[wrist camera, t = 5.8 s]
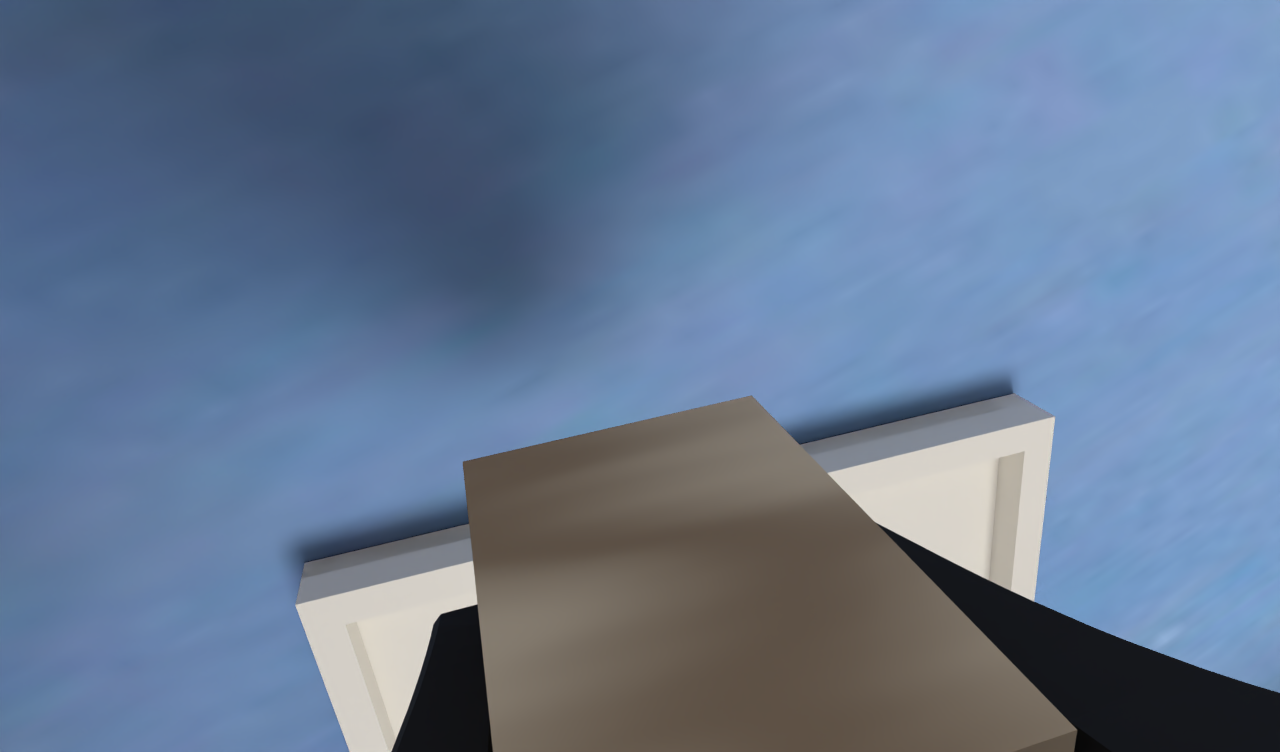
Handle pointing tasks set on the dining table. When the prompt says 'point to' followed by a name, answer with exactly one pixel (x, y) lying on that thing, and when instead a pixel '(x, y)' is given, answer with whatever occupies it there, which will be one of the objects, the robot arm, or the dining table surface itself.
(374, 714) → the white square tray
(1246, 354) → the dining table surface
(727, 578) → the maple block
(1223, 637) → the dining table surface
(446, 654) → the robot arm
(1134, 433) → the dining table surface
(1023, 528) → the outer dish
